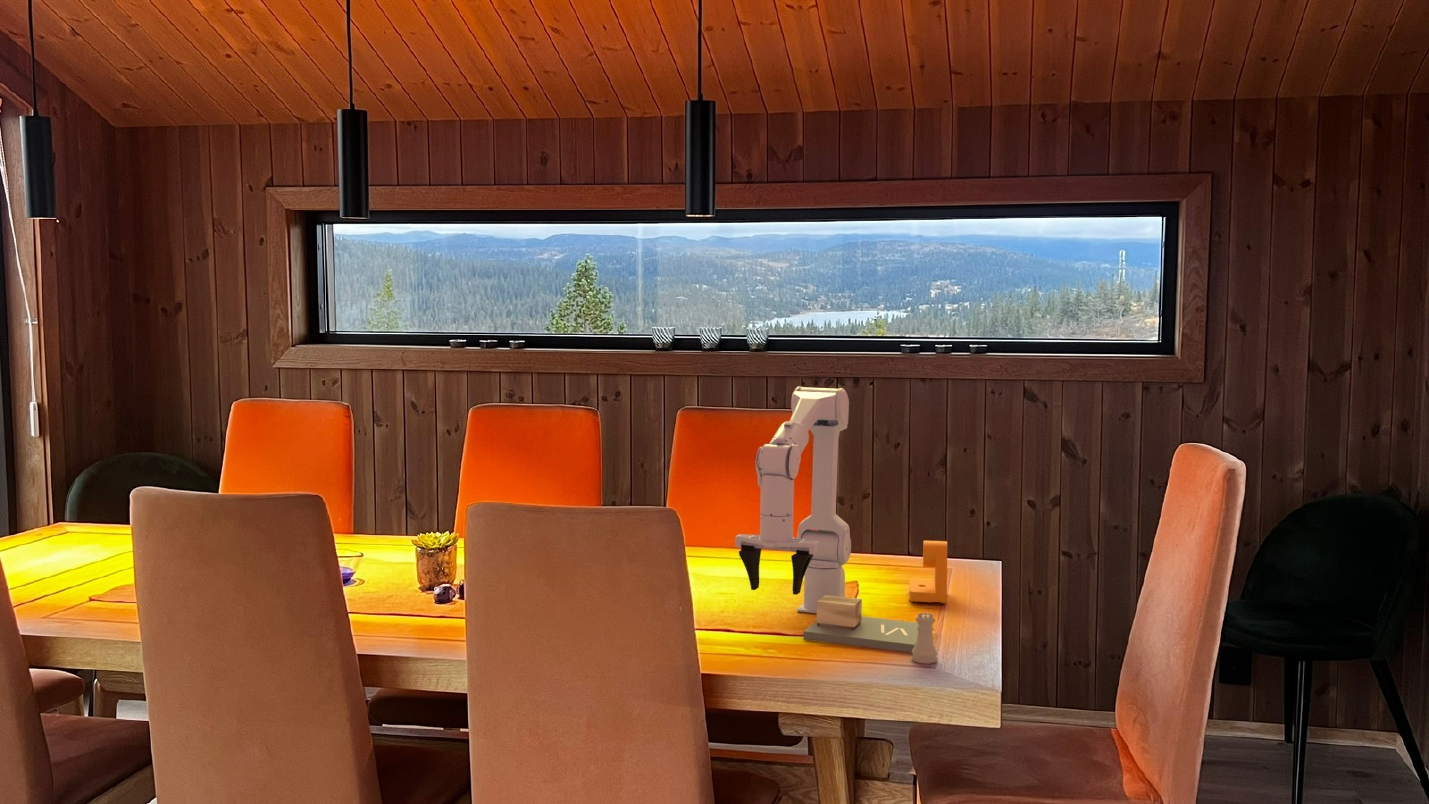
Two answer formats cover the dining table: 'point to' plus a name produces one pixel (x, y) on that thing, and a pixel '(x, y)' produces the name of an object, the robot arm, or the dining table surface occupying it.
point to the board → (869, 634)
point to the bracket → (938, 587)
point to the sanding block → (839, 612)
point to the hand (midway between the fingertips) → (775, 591)
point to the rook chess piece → (924, 640)
